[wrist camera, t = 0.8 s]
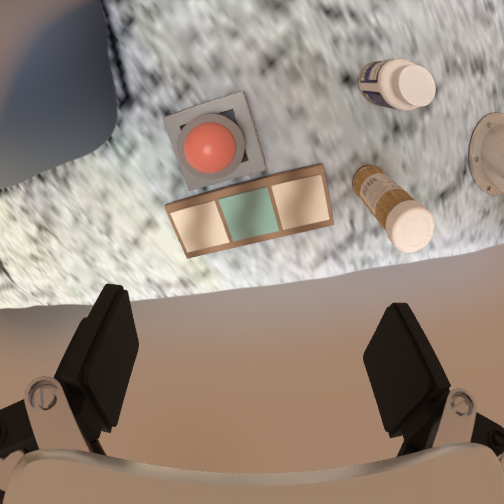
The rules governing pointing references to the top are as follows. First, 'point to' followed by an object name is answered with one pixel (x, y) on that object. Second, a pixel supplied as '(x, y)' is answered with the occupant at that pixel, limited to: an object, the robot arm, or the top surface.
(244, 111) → the button housing
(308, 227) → the board
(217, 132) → the dome button
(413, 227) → the sprinkles bottle
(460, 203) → the top surface
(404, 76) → the pill bottle
